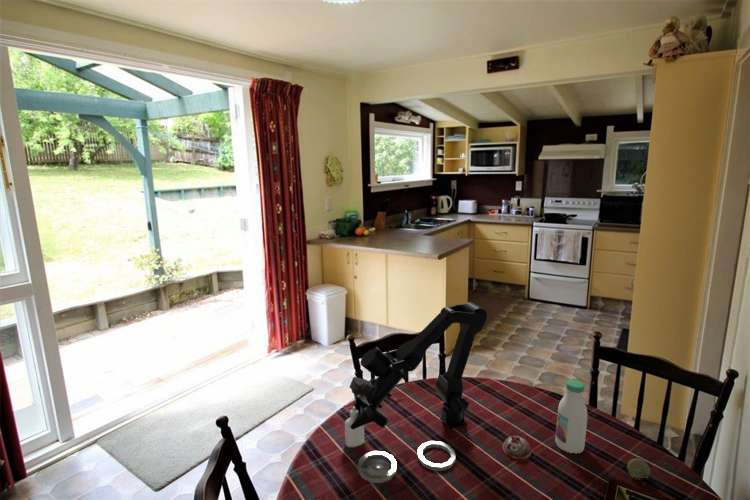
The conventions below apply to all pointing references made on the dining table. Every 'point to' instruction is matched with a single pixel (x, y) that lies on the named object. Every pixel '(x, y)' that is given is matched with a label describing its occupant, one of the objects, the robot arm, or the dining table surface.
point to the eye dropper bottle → (353, 431)
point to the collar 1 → (377, 467)
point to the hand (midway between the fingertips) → (349, 424)
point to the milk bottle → (572, 419)
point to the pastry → (517, 448)
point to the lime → (638, 468)
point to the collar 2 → (433, 465)
